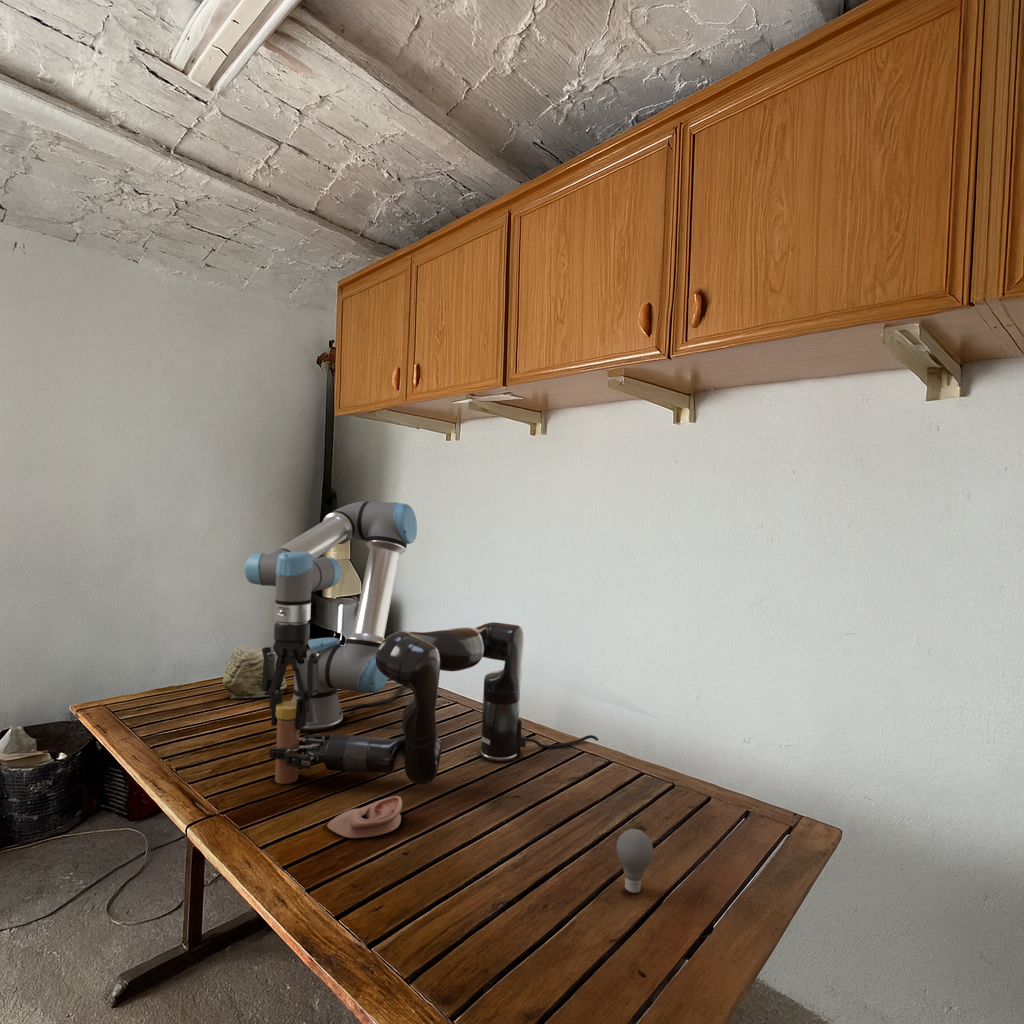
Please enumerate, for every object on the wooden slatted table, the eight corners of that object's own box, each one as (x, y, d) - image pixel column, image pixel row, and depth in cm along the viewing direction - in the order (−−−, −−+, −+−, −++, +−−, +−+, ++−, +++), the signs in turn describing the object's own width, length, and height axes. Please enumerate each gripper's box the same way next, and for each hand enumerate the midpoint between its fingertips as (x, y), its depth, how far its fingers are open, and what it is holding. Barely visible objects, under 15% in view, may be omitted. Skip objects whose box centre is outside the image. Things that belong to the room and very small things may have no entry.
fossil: (218, 695, 195) (220, 647, 195) (278, 685, 208) (279, 640, 207) (228, 703, 189) (230, 653, 188) (289, 692, 201) (290, 645, 201)
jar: (296, 783, 139) (299, 711, 139) (272, 784, 138) (275, 711, 138) (299, 773, 144) (302, 704, 144) (277, 774, 143) (279, 704, 143)
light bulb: (610, 879, 108) (613, 822, 108) (644, 879, 109) (647, 822, 109) (619, 902, 102) (622, 840, 102) (655, 901, 103) (658, 840, 103)
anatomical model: (320, 812, 119) (347, 786, 130) (319, 833, 119) (347, 805, 130) (386, 822, 116) (408, 795, 127) (385, 844, 116) (408, 814, 128)
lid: (281, 710, 144) (281, 700, 144) (305, 711, 144) (306, 701, 144) (271, 719, 138) (271, 708, 138) (297, 720, 138) (297, 709, 138)
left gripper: (245, 620, 140) (241, 725, 140) (319, 629, 135) (315, 737, 135) (267, 615, 147) (263, 714, 147) (338, 622, 142) (334, 725, 142)
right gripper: (361, 725, 147) (289, 720, 148) (340, 749, 133) (261, 743, 134) (359, 757, 147) (288, 752, 149) (339, 784, 133) (260, 778, 134)
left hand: (288, 725), depth 141 cm, fingers closed on lid, 5 cm apart
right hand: (276, 748), depth 141 cm, fingers closed on jar, 5 cm apart
